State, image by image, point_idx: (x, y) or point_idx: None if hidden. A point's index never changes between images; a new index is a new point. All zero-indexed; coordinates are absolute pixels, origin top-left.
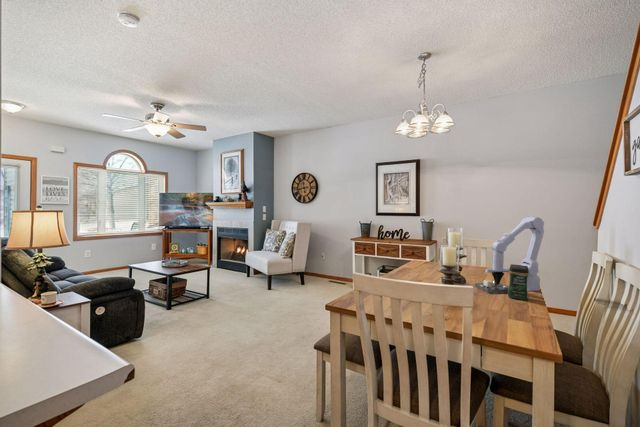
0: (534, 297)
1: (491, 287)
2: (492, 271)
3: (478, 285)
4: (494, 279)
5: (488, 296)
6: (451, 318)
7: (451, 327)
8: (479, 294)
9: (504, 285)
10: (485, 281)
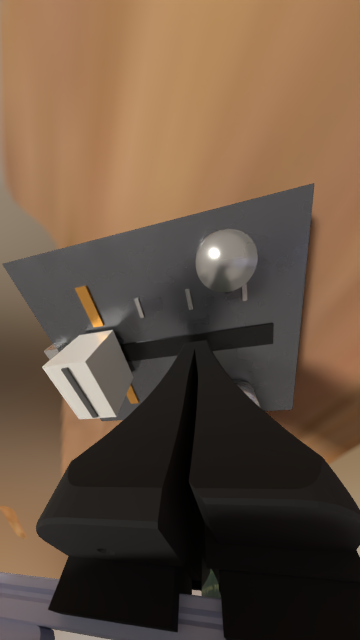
0: (338, 446)
1: (136, 377)
2: (34, 633)
3: (43, 322)
4: (170, 373)
5: (105, 433)
6: (9, 520)
7: (18, 534)
8: (66, 414)
9: (291, 315)
10: (65, 389)
